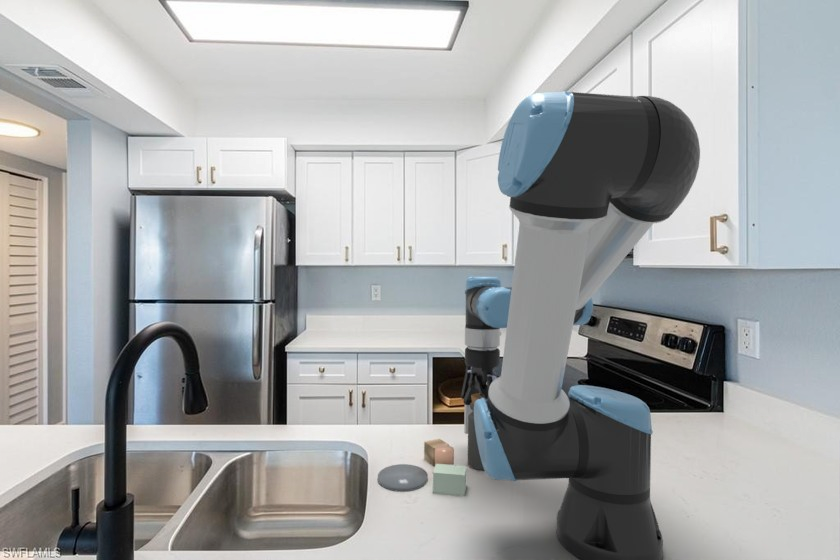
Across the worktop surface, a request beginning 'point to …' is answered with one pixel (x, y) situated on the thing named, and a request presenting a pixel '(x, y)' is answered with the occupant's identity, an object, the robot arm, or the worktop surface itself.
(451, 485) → the sage block
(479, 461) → the bottle
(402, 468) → the coaster
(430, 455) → the oak block
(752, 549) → the worktop surface
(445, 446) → the salmon pink block
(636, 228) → the robot arm
